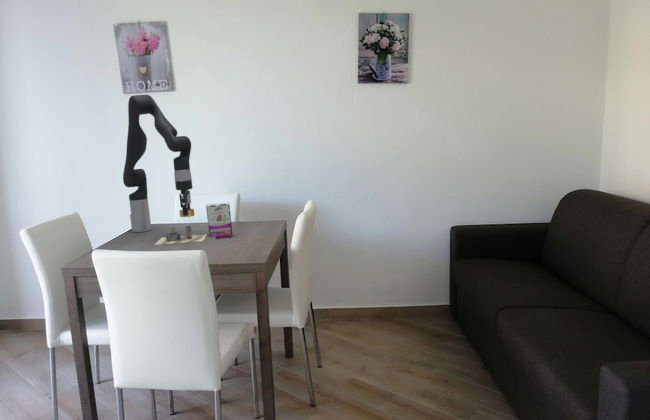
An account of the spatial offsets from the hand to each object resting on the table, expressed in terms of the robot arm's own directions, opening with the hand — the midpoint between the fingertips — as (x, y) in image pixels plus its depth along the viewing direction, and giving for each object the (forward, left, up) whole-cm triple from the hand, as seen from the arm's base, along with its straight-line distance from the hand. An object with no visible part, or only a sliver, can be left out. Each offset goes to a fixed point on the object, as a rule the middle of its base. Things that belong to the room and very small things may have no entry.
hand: (187, 214), depth 221 cm
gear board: (-4, 0, -13) cm, 14 cm away
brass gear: (0, 0, -1) cm, 1 cm away
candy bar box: (+14, +4, -13) cm, 20 cm away
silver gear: (-7, 0, -12) cm, 14 cm away
